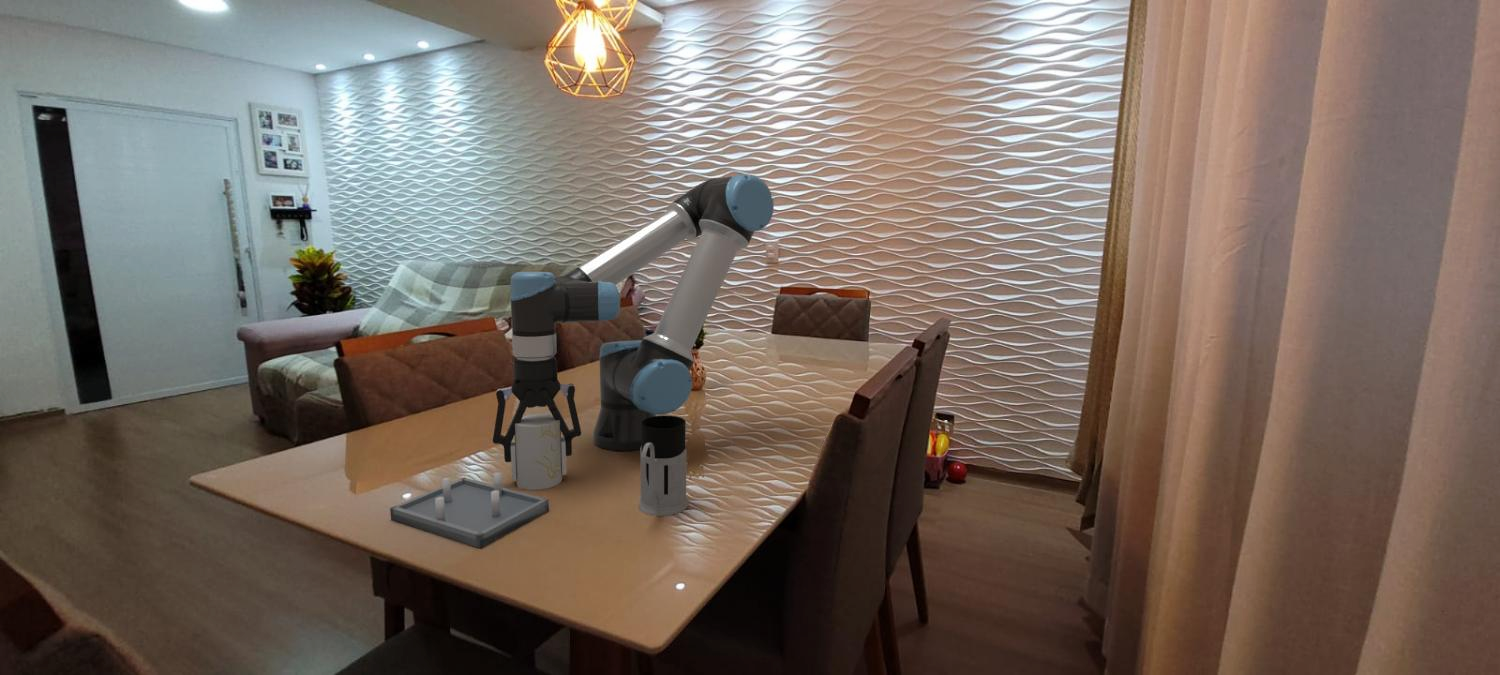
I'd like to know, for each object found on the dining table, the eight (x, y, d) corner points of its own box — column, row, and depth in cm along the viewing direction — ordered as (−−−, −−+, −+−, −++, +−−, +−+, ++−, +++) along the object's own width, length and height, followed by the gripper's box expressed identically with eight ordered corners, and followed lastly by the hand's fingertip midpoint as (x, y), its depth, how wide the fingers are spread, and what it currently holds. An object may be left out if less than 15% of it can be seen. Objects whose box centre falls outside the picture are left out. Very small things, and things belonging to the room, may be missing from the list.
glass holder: (694, 496, 106) (695, 416, 104) (669, 534, 92) (669, 442, 90) (648, 491, 108) (648, 412, 105) (617, 528, 94) (616, 438, 92)
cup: (547, 492, 107) (545, 428, 105) (507, 487, 108) (504, 424, 106) (570, 475, 115) (568, 415, 113) (532, 471, 116) (529, 412, 114)
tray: (548, 510, 100) (547, 481, 99) (480, 548, 87) (478, 515, 86) (464, 487, 108) (463, 460, 107) (390, 519, 95) (388, 489, 94)
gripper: (592, 350, 115) (594, 461, 118) (473, 355, 107) (480, 473, 111) (596, 357, 108) (598, 475, 111) (470, 363, 101) (477, 489, 104)
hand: (539, 474), depth 111 cm, fingers closed on cup, 8 cm apart
